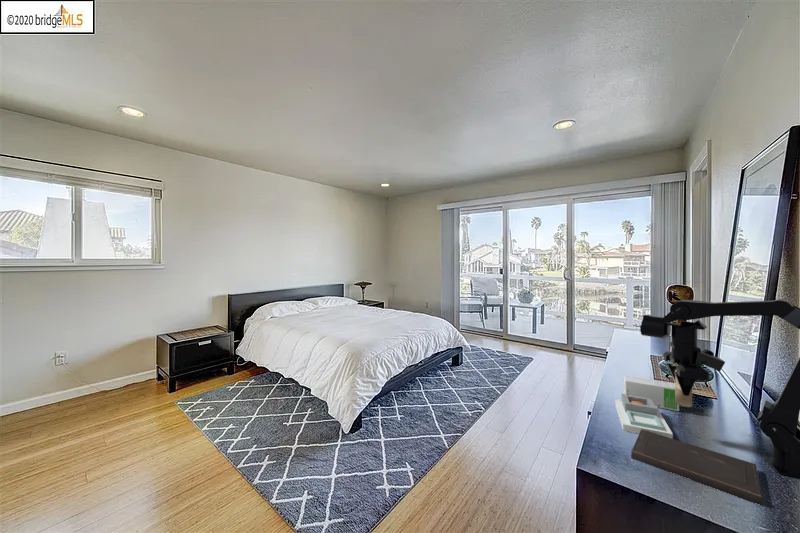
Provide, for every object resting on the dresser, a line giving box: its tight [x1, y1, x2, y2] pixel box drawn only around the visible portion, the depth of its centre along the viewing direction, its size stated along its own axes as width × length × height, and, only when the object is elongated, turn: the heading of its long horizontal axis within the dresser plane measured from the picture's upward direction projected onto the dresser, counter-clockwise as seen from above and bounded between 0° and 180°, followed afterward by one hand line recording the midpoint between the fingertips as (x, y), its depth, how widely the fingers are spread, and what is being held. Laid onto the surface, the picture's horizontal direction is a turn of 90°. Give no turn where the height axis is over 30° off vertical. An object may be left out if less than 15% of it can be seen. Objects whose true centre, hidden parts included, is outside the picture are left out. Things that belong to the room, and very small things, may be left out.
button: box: [630, 401, 646, 405], centre depth 106 cm, size 4×4×1 cm
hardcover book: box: [630, 429, 763, 506], centre depth 81 cm, size 16×23×2 cm
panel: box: [614, 393, 674, 439], centre depth 103 cm, size 20×12×5 cm, turn 151°
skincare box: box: [623, 375, 680, 412], centre depth 115 cm, size 8×7×16 cm
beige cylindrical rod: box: [674, 370, 693, 408], centre depth 94 cm, size 4×4×10 cm
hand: (683, 392), depth 94 cm, fingers closed on beige cylindrical rod, 4 cm apart
